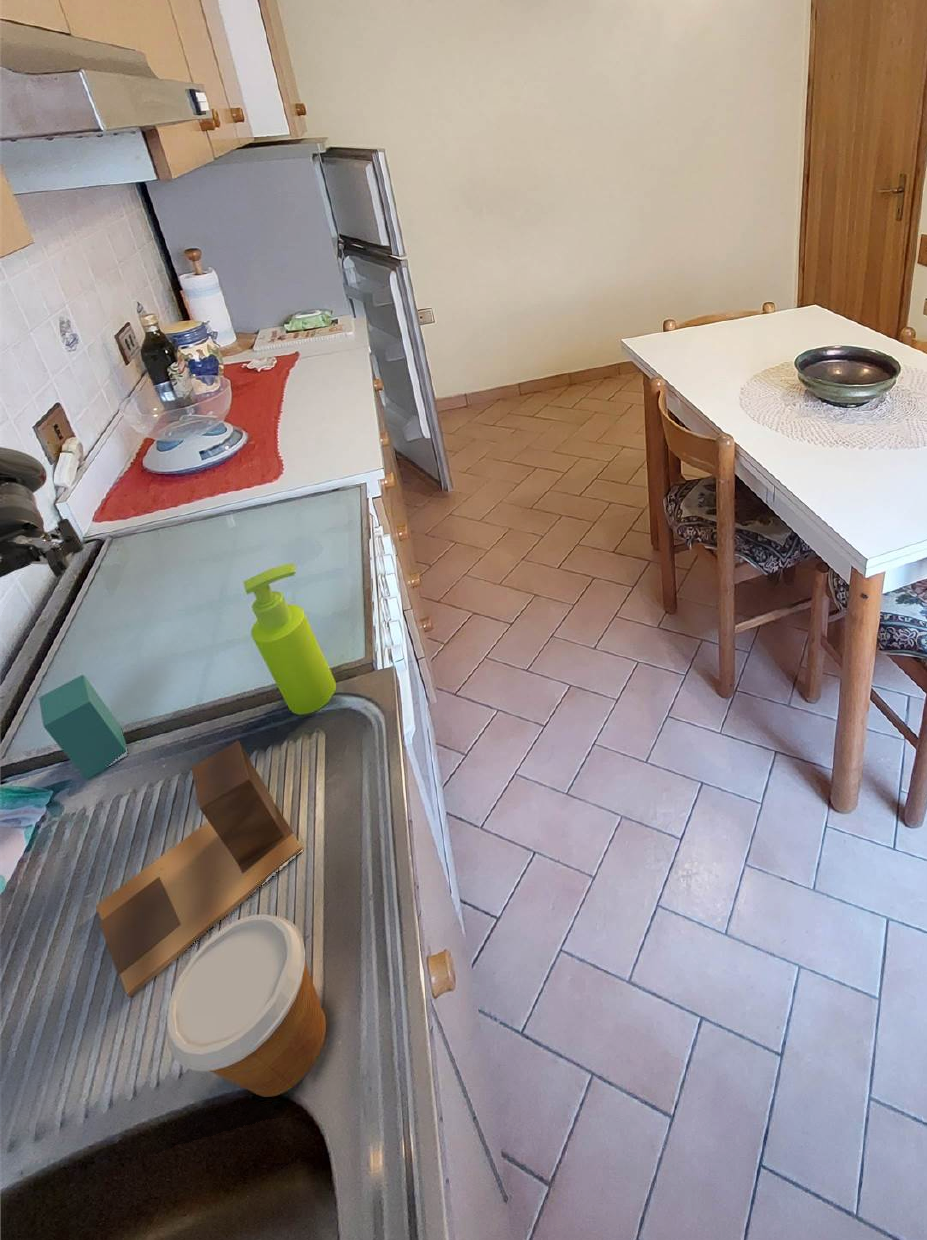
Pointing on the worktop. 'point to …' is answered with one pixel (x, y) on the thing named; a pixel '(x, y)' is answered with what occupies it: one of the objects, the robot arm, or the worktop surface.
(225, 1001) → the disposable coffee cup
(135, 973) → the word board
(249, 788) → the brown wooden block
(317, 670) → the soap dispenser
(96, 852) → the worktop surface
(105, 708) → the tall teal prism
